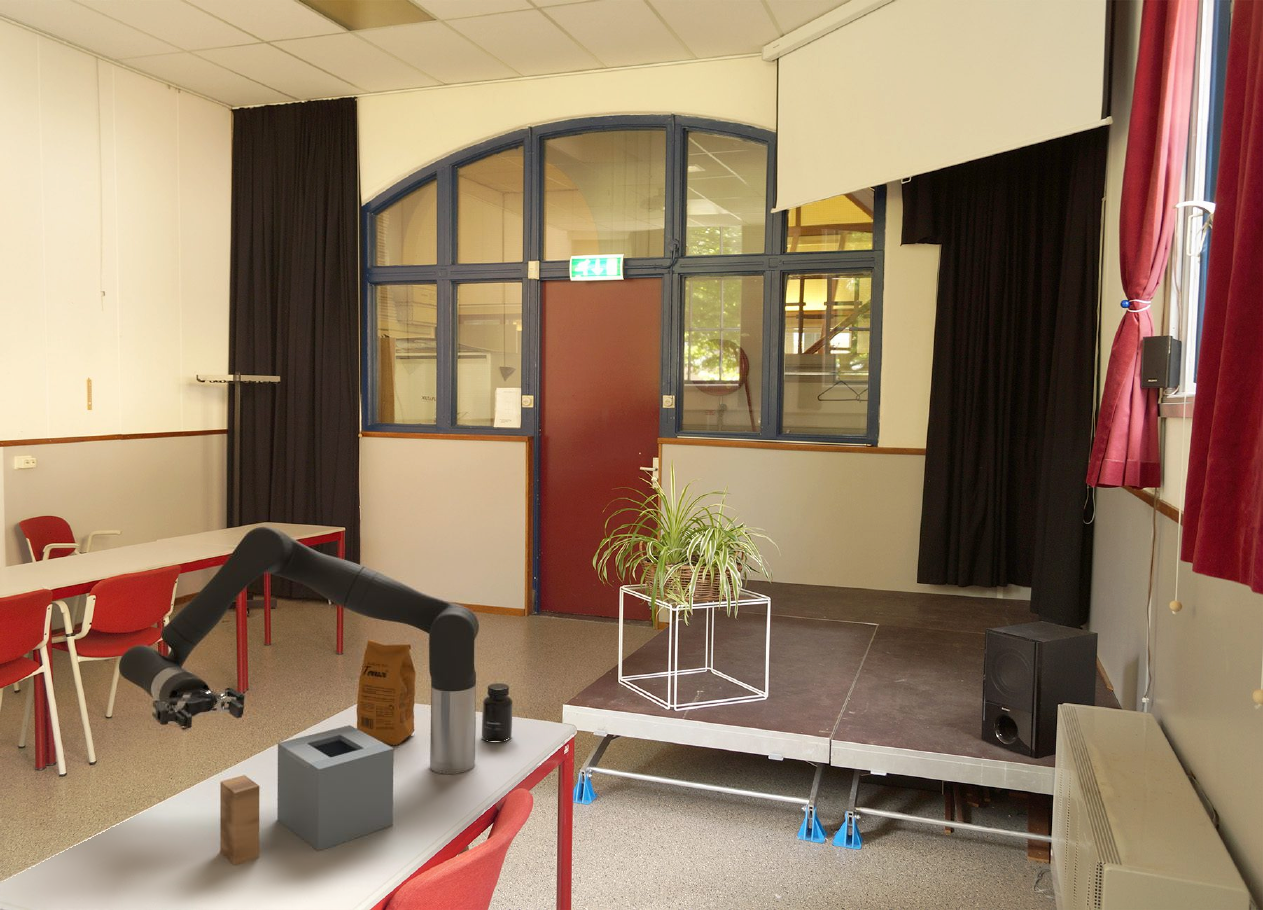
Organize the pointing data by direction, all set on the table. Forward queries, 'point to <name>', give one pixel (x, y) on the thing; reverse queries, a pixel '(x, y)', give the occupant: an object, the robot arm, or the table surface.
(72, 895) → the table surface
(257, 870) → the table surface
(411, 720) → the coffee package
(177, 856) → the table surface
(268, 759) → the table surface
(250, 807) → the wooden block
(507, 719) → the supplement bottle
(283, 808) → the grey box with opening
